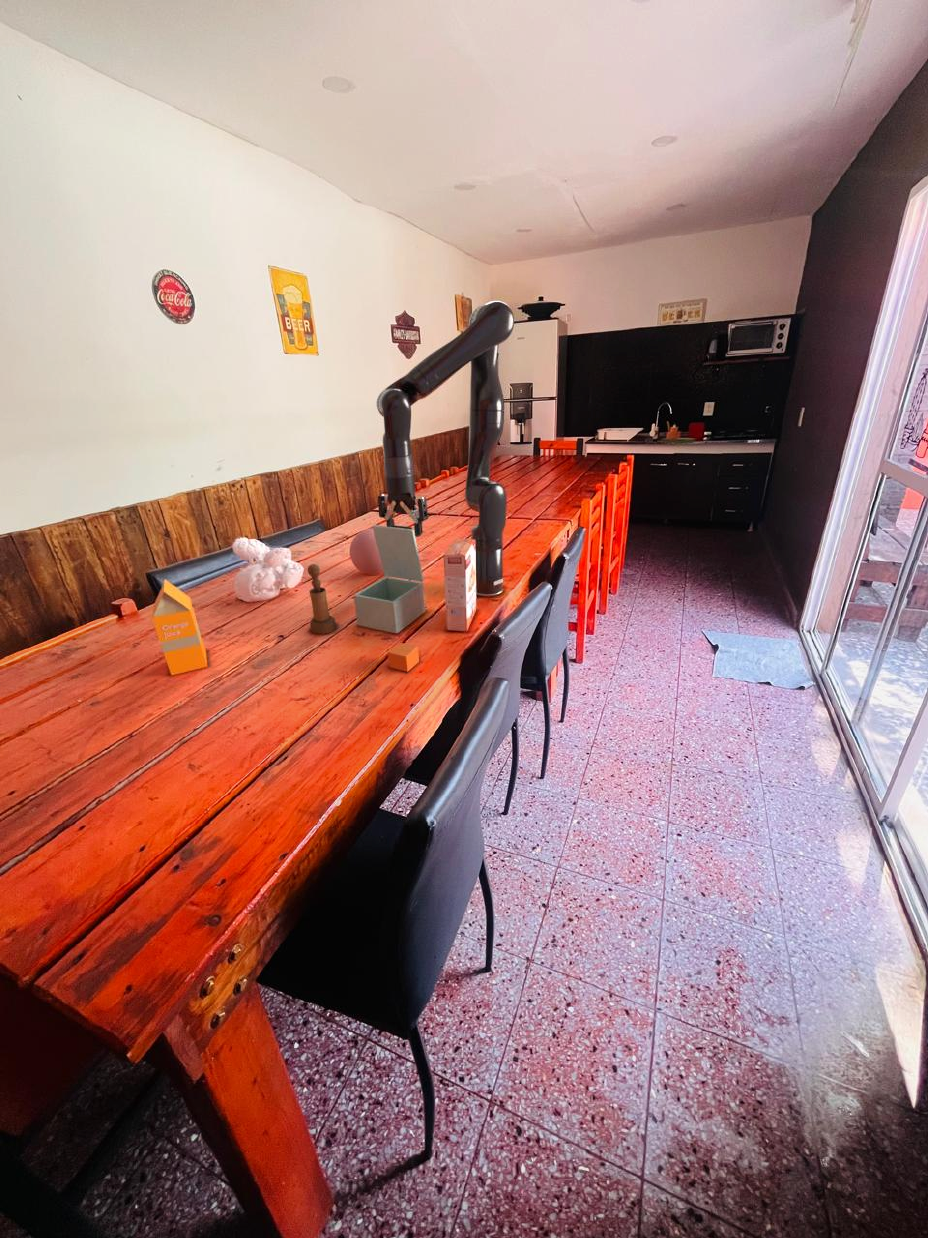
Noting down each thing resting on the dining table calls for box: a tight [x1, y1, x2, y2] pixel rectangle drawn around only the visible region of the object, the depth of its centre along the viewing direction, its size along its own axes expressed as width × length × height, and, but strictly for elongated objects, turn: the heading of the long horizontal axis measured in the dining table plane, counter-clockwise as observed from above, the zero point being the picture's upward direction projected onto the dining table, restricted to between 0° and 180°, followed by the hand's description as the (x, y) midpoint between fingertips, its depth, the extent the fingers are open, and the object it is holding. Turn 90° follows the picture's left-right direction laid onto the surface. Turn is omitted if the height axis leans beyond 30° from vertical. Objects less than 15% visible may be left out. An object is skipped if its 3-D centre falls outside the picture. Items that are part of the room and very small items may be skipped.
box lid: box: [371, 524, 425, 583], centre depth 135 cm, size 16×13×5 cm
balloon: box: [349, 528, 384, 576], centre depth 167 cm, size 15×20×15 cm
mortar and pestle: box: [307, 563, 337, 635], centre depth 128 cm, size 7×6×18 cm
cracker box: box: [443, 538, 477, 633], centre depth 129 cm, size 14×6×21 cm, turn 168°
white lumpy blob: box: [231, 536, 305, 603], centre depth 154 cm, size 19×20×20 cm
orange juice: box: [151, 579, 208, 676], centre depth 113 cm, size 8×9×20 cm
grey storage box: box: [353, 576, 426, 635], centre depth 134 cm, size 15×13×9 cm
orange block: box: [387, 642, 420, 673], centre depth 113 cm, size 5×5×4 cm
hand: (404, 534), depth 135 cm, fingers open, 8 cm apart
